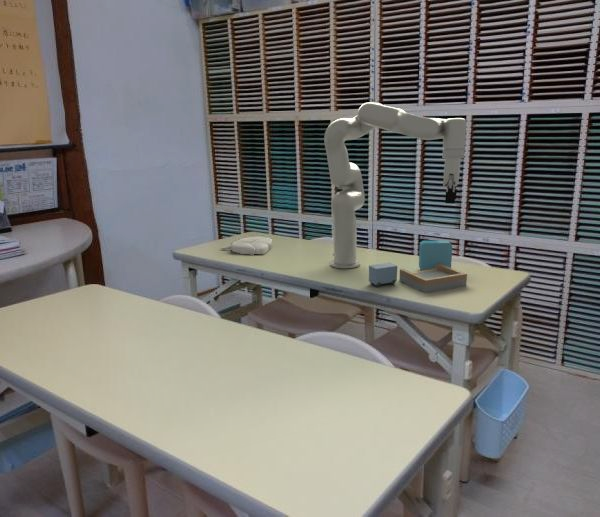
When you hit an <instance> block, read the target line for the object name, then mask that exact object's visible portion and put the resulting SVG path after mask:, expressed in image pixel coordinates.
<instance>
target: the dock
mask: <svg viewBox="0 0 600 517" xmlns="http://www.w3.org/2000/svg"><path fill="white" fill-rule="evenodd" d="M467 279H468V273H466V272H463V271H460V270H458V269H455V268H452V267H451V268H450V267H447V266H445V265H442V264H439V263H438V264H436V269H431V270H424V271H421V270H419V271H412V272H411V271H409V270H407V269H405V268H399V282H402V283H403V282H404V284H405V283H406V285H407V284H408V286H410V287H412V288H414V289H416V290H418V291H420V292H422V293H424V294H426V293H427V294H428V293H432V292H438V291H444V290H448V289H450V290H451V289H455V288H461V287H467Z"/></svg>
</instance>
